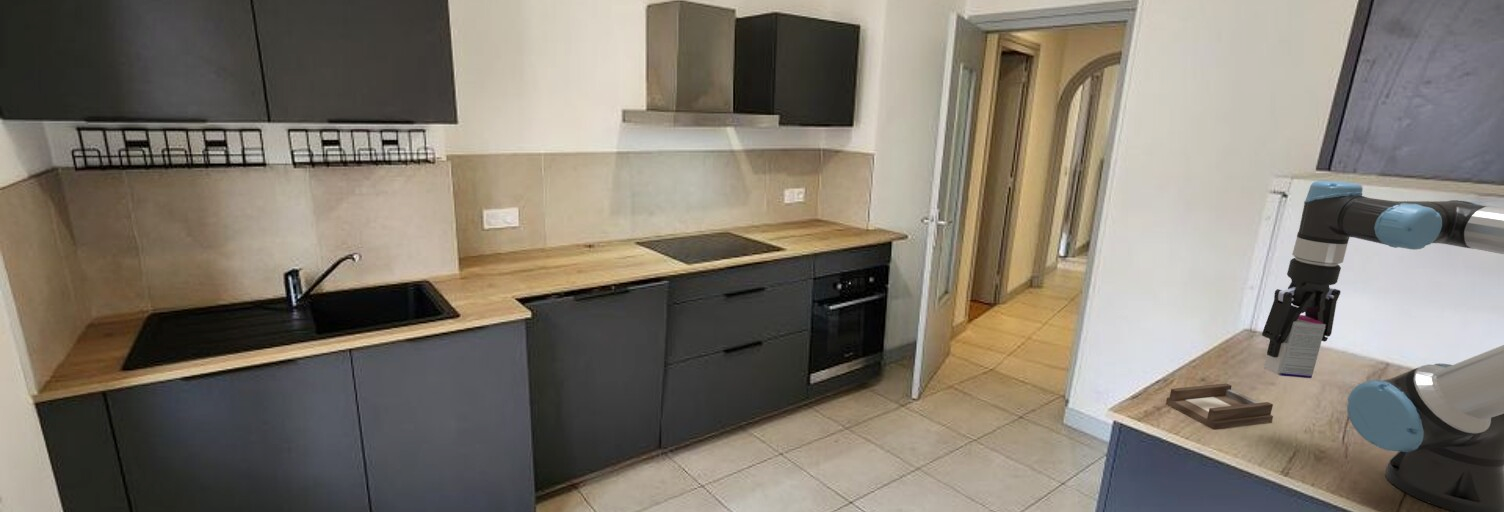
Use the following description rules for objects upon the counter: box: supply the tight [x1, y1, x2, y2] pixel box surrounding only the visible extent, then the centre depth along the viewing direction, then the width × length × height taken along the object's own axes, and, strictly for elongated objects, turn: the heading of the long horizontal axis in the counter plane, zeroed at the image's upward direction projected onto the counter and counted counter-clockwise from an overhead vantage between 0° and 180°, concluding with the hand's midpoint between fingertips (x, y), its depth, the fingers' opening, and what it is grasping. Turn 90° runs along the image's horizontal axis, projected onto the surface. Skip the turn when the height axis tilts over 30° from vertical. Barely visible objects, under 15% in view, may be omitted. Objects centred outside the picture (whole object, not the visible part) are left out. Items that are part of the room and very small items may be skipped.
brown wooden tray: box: [1165, 383, 1274, 430], centre depth 144 cm, size 12×16×4 cm
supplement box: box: [1277, 314, 1326, 379], centre depth 129 cm, size 6×6×12 cm
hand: (1287, 369), depth 130 cm, fingers closed on supplement box, 7 cm apart
